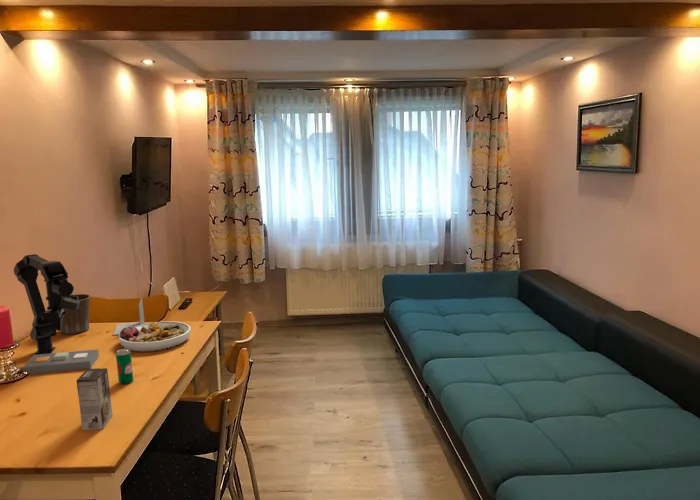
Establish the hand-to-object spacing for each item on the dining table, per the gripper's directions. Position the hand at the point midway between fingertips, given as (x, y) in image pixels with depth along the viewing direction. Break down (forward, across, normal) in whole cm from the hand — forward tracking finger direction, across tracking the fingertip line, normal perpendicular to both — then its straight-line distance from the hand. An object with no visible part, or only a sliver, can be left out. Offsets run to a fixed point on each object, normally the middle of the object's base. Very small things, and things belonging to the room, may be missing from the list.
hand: (59, 330), depth 230 cm
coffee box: (+12, -65, -27) cm, 71 cm away
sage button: (+10, -8, -2) cm, 13 cm away
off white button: (+11, -8, -9) cm, 17 cm away
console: (+12, -8, -2) cm, 15 cm away
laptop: (+12, +36, -20) cm, 43 cm away
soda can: (+12, -33, -30) cm, 46 cm away
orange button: (+11, -8, +5) cm, 15 cm away
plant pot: (+12, +40, +5) cm, 42 cm away
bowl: (+13, +12, -35) cm, 39 cm away
